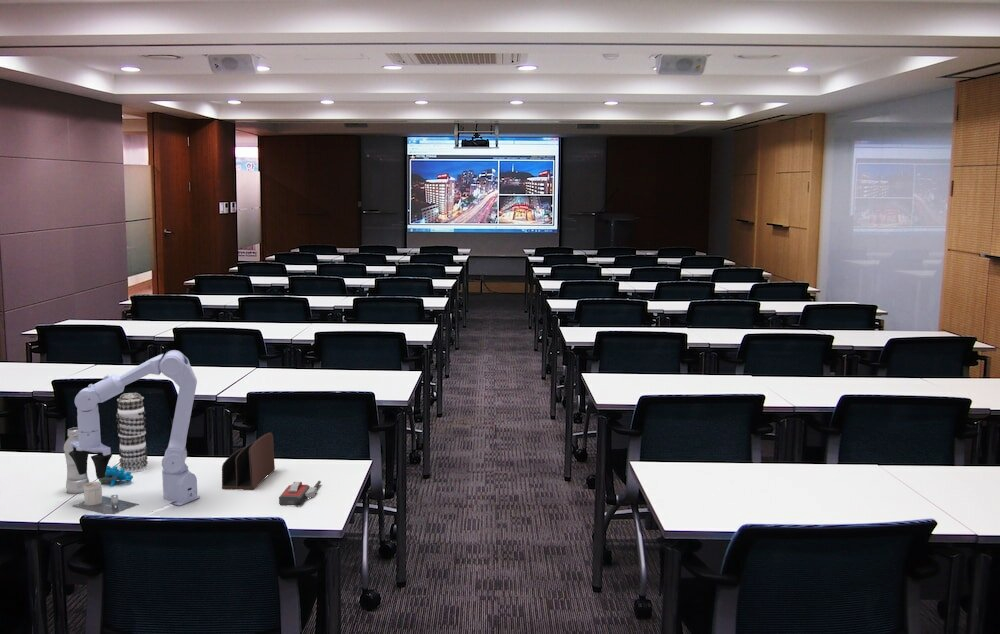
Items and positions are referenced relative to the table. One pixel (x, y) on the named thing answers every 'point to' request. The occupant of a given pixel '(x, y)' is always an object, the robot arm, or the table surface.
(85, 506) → the flat rectangular plate
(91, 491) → the knob
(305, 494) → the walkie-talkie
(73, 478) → the plastic bottle
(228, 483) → the letter holder
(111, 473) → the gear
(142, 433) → the decorative candle
